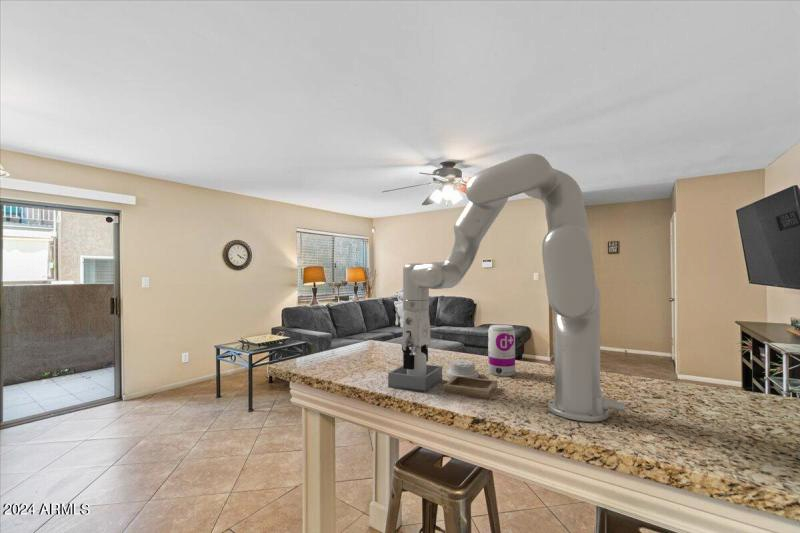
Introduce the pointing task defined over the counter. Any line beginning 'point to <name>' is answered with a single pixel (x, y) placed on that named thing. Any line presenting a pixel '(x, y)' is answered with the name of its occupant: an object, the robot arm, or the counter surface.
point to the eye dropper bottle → (418, 363)
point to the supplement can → (501, 350)
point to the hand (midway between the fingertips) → (416, 364)
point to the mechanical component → (462, 369)
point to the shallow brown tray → (472, 392)
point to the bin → (415, 379)
